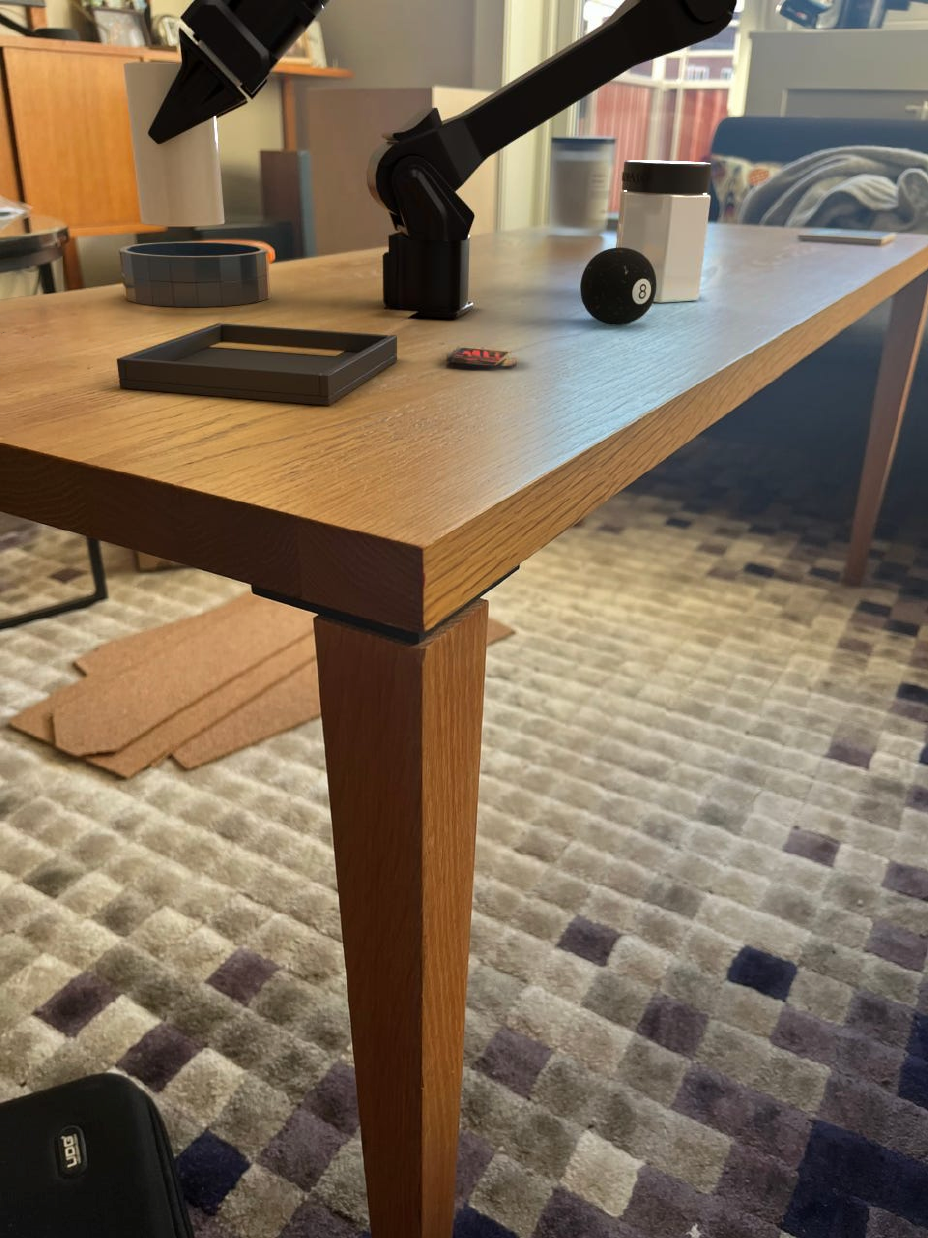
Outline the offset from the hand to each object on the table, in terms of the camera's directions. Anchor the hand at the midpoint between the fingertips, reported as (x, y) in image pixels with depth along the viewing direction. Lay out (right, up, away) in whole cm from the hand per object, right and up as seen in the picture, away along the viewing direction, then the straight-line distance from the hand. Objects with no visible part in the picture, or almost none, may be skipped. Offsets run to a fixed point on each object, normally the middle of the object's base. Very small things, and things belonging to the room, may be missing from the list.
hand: (156, 138), depth 76 cm
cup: (+1, -5, +3) cm, 6 cm away
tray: (+11, -21, -13) cm, 28 cm away
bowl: (0, -9, +11) cm, 14 cm away
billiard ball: (+36, -13, +6) cm, 39 cm away
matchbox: (+25, -19, -9) cm, 33 cm away
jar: (+42, -5, +22) cm, 48 cm away
